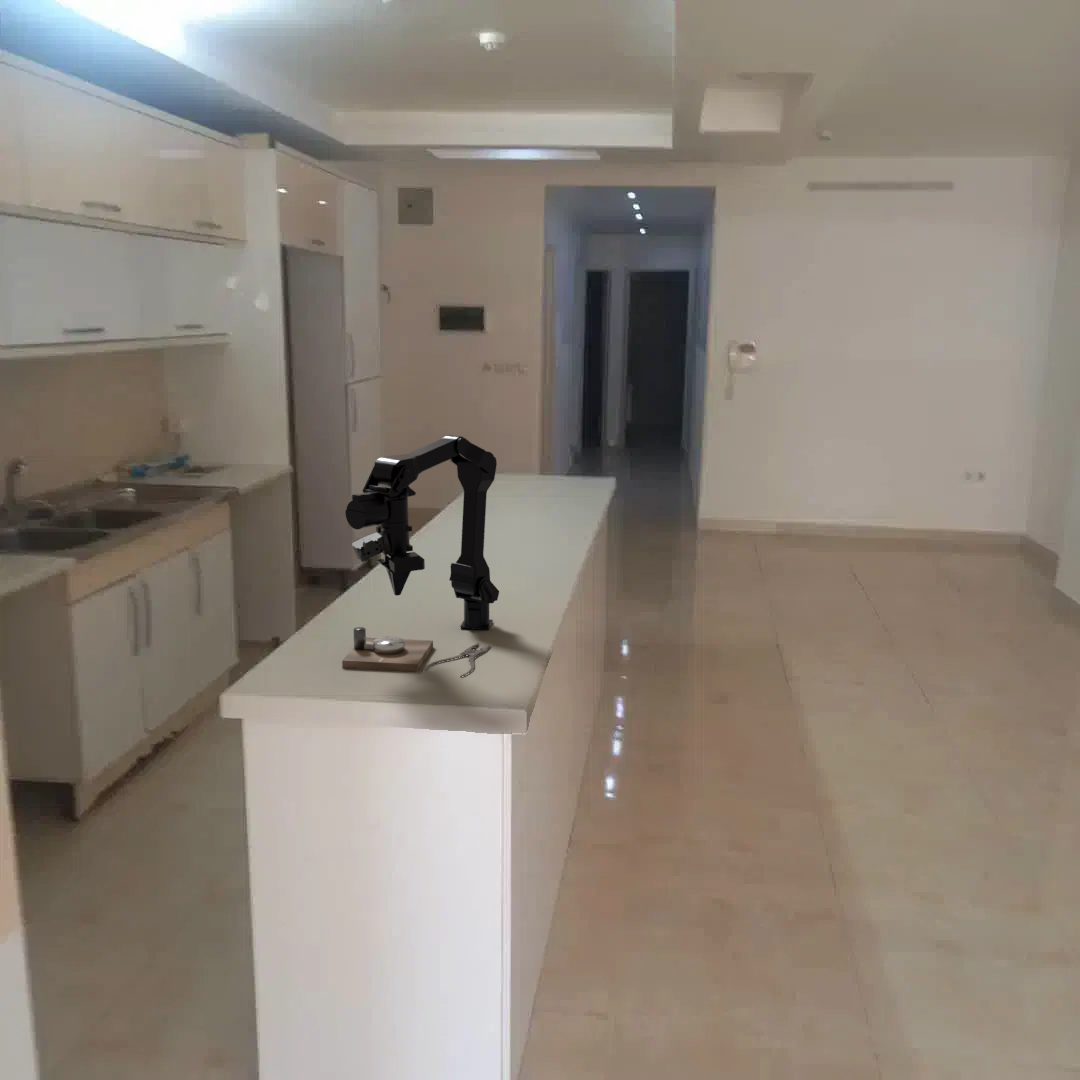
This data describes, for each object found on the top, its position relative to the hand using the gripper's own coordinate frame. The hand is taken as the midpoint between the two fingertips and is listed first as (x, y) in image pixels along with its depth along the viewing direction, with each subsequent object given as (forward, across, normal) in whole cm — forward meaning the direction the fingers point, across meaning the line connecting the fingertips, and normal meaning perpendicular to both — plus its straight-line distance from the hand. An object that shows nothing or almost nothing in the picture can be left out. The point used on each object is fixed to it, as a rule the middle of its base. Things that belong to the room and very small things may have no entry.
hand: (397, 594), depth 207 cm
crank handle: (+10, +1, -5) cm, 11 cm away
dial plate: (+12, +2, -3) cm, 13 cm away
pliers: (+13, +9, +9) cm, 18 cm away
